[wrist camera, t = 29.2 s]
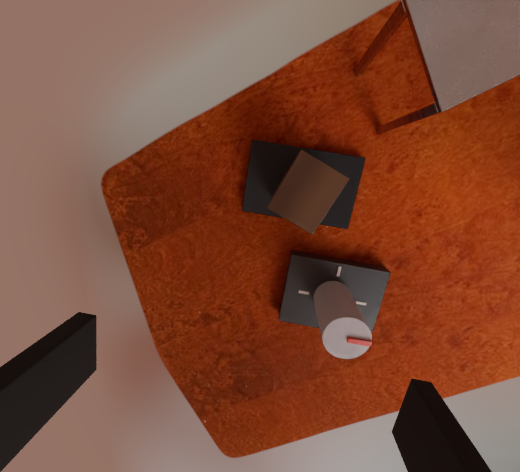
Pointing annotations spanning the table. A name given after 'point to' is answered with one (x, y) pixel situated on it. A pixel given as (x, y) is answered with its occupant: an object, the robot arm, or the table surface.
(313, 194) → the block
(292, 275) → the panel
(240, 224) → the table surface
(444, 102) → the square metal stool
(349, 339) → the oven dial
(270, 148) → the mat
